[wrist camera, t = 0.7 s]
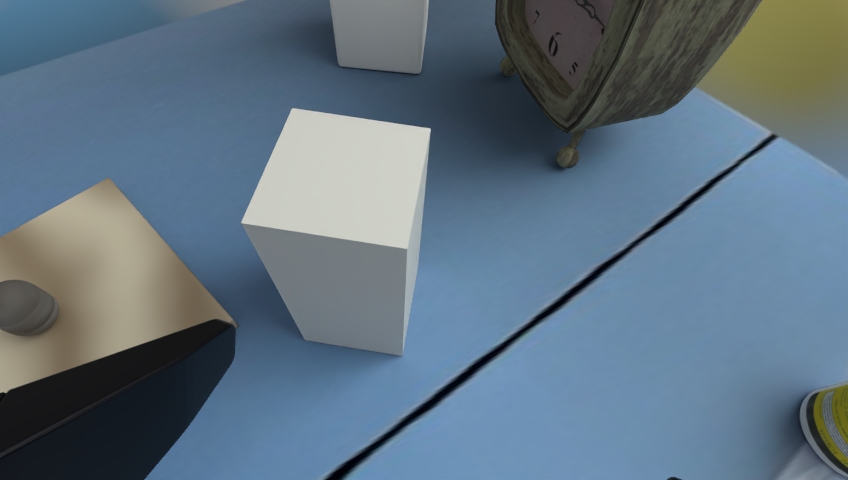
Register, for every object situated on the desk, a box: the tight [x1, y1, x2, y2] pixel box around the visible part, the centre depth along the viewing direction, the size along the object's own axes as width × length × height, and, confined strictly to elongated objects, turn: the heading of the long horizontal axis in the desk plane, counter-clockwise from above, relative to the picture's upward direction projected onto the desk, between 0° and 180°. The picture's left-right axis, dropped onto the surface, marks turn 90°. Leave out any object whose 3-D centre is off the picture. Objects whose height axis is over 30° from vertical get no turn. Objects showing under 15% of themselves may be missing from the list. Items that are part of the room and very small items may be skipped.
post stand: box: [0, 178, 238, 393], centre depth 22 cm, size 14×14×4 cm
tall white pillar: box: [241, 108, 431, 356], centre depth 21 cm, size 6×6×12 cm
